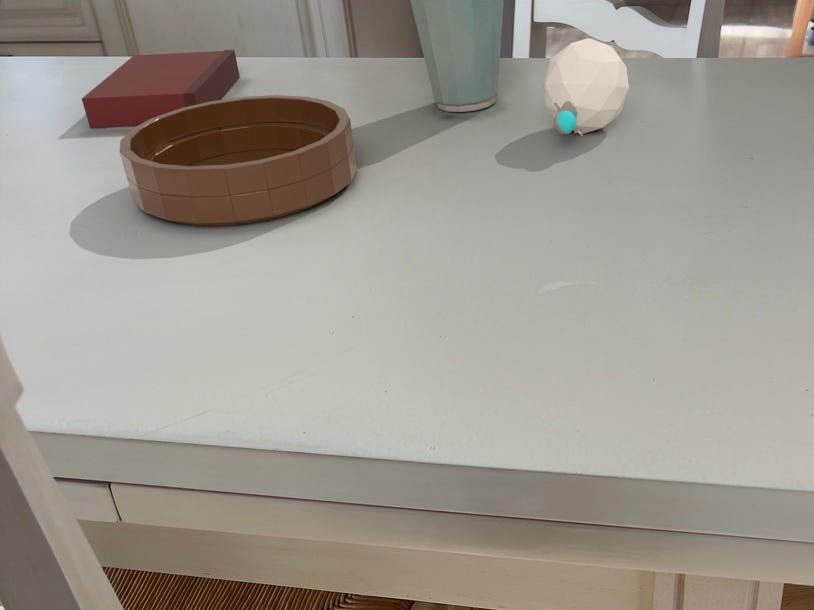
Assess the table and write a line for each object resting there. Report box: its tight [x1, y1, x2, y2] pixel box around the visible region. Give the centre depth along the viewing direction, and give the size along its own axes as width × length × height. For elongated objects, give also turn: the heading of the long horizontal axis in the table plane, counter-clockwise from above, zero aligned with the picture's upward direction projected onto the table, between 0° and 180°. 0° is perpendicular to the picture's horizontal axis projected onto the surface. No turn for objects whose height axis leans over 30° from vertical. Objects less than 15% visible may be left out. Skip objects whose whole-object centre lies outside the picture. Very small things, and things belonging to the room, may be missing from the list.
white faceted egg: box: [542, 37, 630, 137], centre depth 94 cm, size 8×8×12 cm
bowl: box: [119, 94, 358, 227], centre depth 90 cm, size 20×20×5 cm
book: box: [81, 49, 241, 129], centre depth 113 cm, size 12×17×3 cm
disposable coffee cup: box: [410, 0, 505, 113], centre depth 102 cm, size 11×11×15 cm
